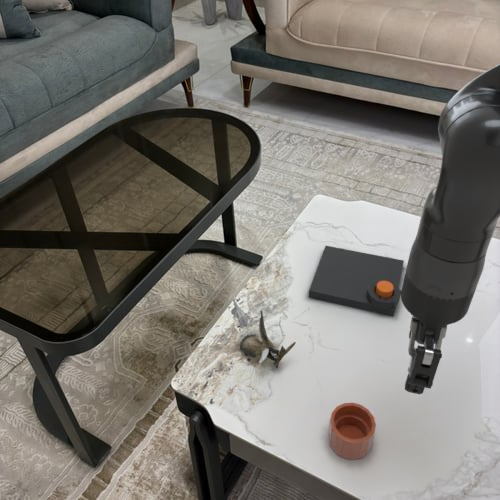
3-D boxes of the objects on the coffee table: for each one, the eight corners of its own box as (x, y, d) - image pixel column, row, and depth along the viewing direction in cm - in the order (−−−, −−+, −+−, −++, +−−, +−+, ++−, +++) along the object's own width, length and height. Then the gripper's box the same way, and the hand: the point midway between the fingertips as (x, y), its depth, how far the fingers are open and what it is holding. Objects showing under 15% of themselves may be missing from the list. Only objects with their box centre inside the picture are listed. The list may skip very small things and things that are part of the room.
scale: (404, 267, 101) (407, 254, 99) (395, 318, 91) (398, 305, 89) (325, 252, 106) (326, 239, 104) (307, 299, 96) (308, 286, 93)
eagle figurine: (302, 346, 85) (267, 311, 90) (291, 340, 79) (254, 303, 83) (272, 379, 85) (238, 343, 90) (258, 375, 79) (223, 336, 83)
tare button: (393, 288, 93) (394, 282, 92) (391, 299, 90) (392, 293, 89) (377, 285, 93) (378, 279, 92) (374, 296, 91) (375, 290, 90)
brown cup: (374, 428, 75) (378, 409, 72) (367, 466, 70) (371, 448, 67) (333, 416, 77) (335, 397, 73) (324, 452, 72) (326, 434, 69)
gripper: (481, 327, 49) (444, 417, 59) (476, 238, 59) (445, 329, 70) (402, 312, 51) (380, 402, 61) (410, 228, 61) (390, 318, 71)
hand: (415, 363), depth 65 cm, fingers open, 8 cm apart
